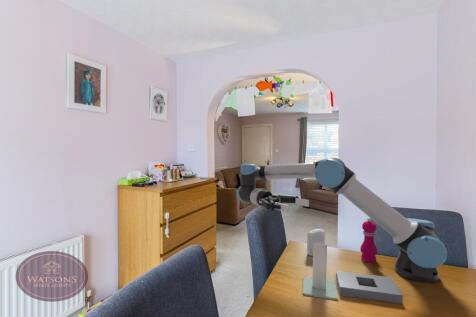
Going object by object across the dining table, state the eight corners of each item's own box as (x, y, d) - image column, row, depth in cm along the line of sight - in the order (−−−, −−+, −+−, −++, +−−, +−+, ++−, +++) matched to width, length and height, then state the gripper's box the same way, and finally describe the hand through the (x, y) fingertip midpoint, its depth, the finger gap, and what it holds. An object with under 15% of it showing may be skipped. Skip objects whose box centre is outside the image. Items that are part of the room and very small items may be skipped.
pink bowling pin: (360, 261, 114) (361, 219, 114) (359, 255, 121) (360, 215, 120) (378, 264, 112) (379, 221, 111) (376, 257, 118) (376, 217, 118)
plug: (325, 283, 95) (326, 243, 94) (326, 291, 90) (327, 248, 89) (312, 281, 96) (312, 242, 96) (312, 288, 91) (313, 247, 91)
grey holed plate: (390, 284, 95) (390, 277, 95) (402, 303, 83) (402, 295, 83) (335, 277, 100) (336, 270, 100) (339, 294, 89) (339, 286, 89)
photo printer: (319, 249, 128) (319, 226, 128) (325, 252, 125) (326, 228, 124) (305, 254, 123) (305, 230, 122) (312, 257, 119) (312, 232, 119)
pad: (334, 281, 97) (334, 280, 97) (338, 300, 86) (338, 298, 86) (303, 277, 100) (303, 276, 100) (302, 294, 89) (302, 293, 89)
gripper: (279, 201, 124) (316, 209, 107) (241, 210, 108) (278, 220, 92) (279, 187, 123) (316, 193, 107) (241, 193, 108) (278, 201, 91)
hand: (298, 205), depth 99 cm, fingers open, 13 cm apart
